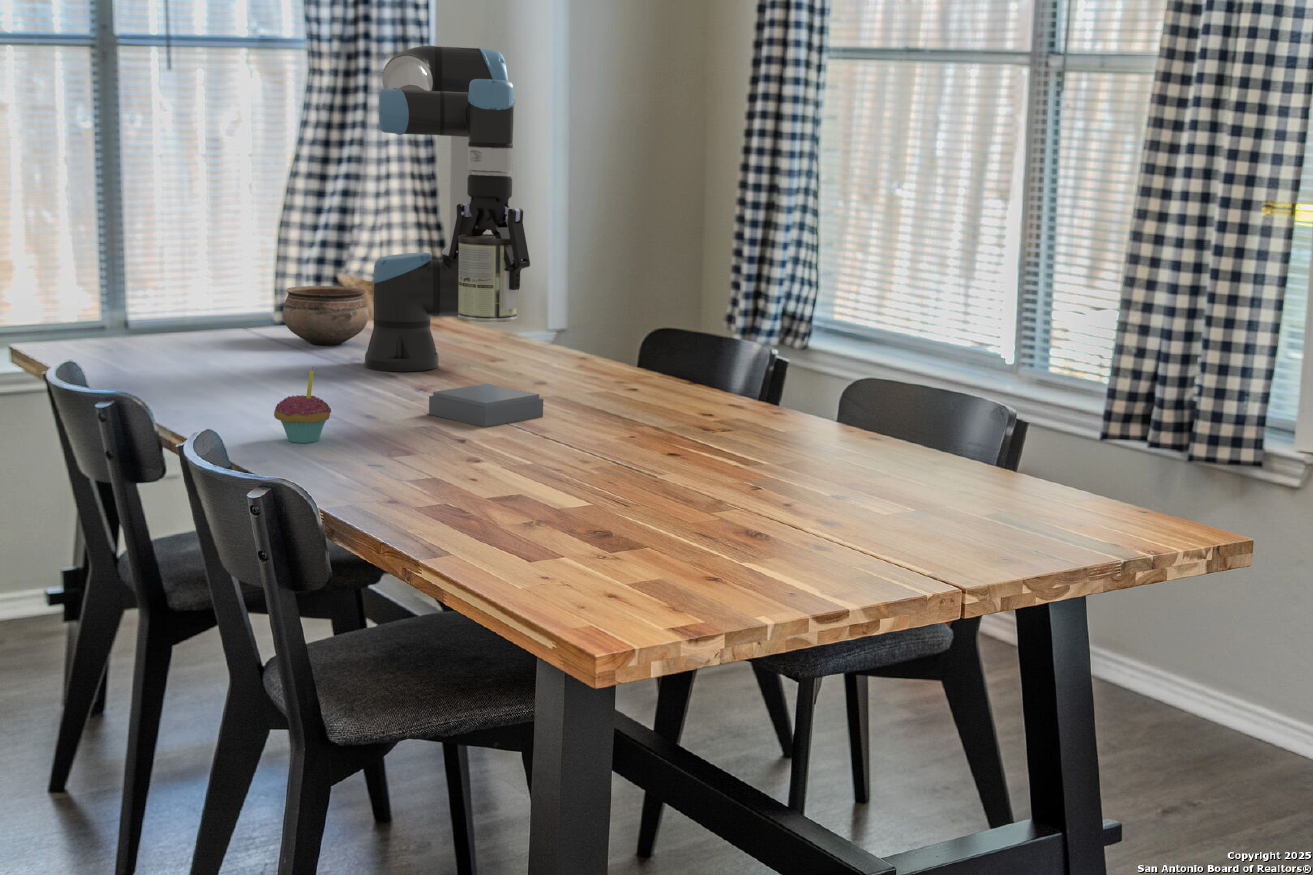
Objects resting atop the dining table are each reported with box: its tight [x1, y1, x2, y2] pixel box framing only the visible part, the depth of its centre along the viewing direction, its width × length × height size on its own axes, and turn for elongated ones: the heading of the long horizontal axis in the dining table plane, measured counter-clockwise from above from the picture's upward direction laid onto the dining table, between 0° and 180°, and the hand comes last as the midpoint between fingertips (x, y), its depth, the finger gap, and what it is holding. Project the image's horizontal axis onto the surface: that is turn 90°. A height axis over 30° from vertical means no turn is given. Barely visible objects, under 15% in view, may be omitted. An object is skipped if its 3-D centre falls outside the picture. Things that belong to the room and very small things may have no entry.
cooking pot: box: [281, 285, 370, 347], centre depth 308 cm, size 25×19×12 cm
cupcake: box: [273, 365, 332, 444], centre depth 213 cm, size 9×8×12 cm
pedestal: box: [428, 383, 544, 428], centre depth 238 cm, size 14×14×4 cm
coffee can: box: [457, 233, 518, 323], centre depth 234 cm, size 10×10×14 cm
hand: (487, 305), depth 235 cm, fingers closed on coffee can, 10 cm apart
